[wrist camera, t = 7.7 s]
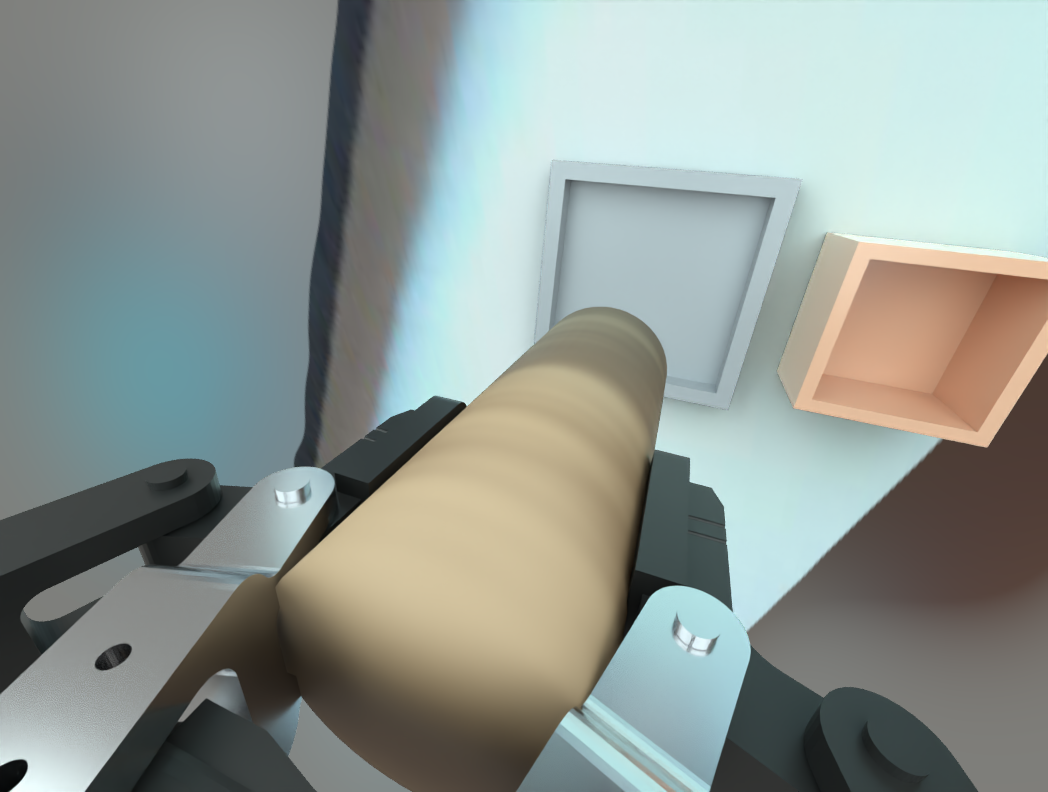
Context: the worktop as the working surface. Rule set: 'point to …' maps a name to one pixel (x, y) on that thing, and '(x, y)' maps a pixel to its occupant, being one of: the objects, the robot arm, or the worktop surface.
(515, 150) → the worktop surface
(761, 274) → the slate tray
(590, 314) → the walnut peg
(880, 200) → the worktop surface
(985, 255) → the terracotta box
